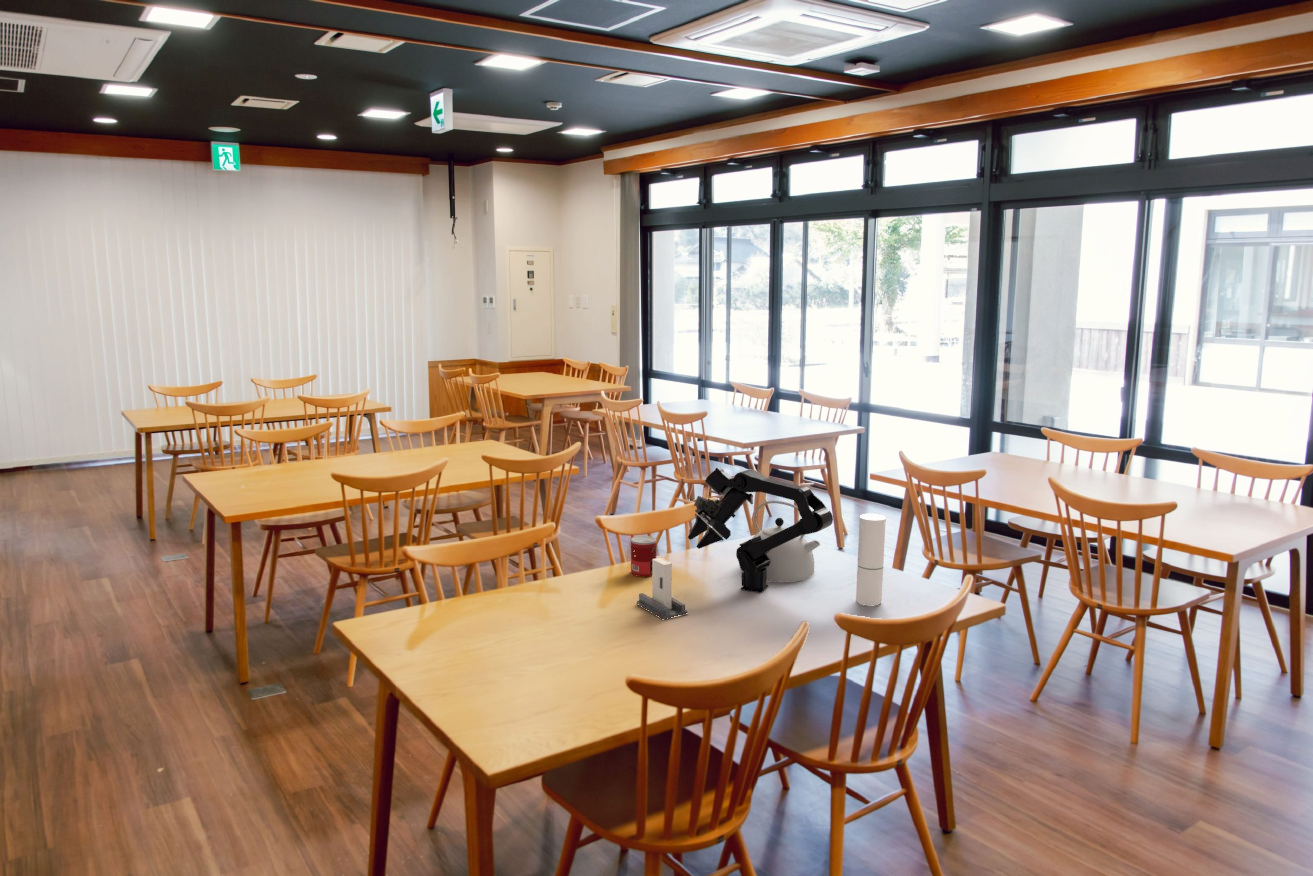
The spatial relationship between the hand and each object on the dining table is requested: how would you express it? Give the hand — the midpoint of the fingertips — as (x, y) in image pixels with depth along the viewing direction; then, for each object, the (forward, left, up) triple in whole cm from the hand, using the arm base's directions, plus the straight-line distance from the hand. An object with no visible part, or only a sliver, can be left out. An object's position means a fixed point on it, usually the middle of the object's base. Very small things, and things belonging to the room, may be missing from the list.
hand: (693, 543), depth 266 cm
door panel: (0, +21, -13) cm, 24 cm away
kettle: (-19, -26, -14) cm, 35 cm away
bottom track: (0, +21, -14) cm, 25 cm away
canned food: (+19, -5, -14) cm, 24 cm away
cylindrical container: (-50, -11, -14) cm, 53 cm away
